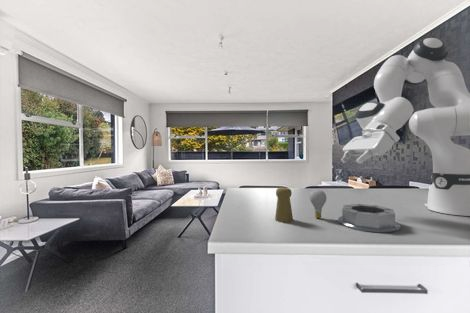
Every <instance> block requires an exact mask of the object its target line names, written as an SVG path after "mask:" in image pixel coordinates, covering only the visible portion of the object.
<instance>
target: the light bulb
mask: <svg viewBox="0 0 470 313" xmlns="http://www.w3.org/2000/svg"><path fill="white" fill-rule="evenodd" d="M309 200H310V202H311V204H312V206H313V209H314V217H315V218H316V219H320V218H322V208H323V207H324V205H325V204H326V202H327V195H326V193H325V192H324V191H323V190H321V189H313V190H312V191H311V192H310V194H309Z"/></svg>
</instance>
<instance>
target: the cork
mask: <svg viewBox="0 0 470 313" xmlns="http://www.w3.org/2000/svg"><path fill="white" fill-rule="evenodd" d="M292 194H293V192H292V190H291V189H290V188H289V187H278V188H277V189H276V191H275V195H276V197H277V200H276V209H275V216H274V217H275V218H274V220H276V221H275V222H277V221H278V222H279V223H282V222H283V224H286V223H292V222H293V221H294V218H293V212H292V210H293V209H292V202H291V196H292Z"/></svg>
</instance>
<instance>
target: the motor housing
mask: <svg viewBox="0 0 470 313" xmlns="http://www.w3.org/2000/svg"><path fill="white" fill-rule="evenodd" d="M341 213H342V214H341V215H340V216H339V217H338V219H337V220H338V223H339V224H340V225H342V226H344V227H346V228H348V229H352V230H356V231H360V232H361V231H362V232H368V233H375V234H376V233H378V234H380V233H381V234H385V233H386V234H389V233H395V232H399V231H400V230H401V225H400V223H398V222H396V213H395V211H394V209H393V208H390V207H389V208H388V207H384V206H382V205H376V204H375V205H374V204H362V203H354V204H353V203H351V204H344V205H343V207H342V212H341Z"/></svg>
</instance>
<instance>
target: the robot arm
mask: <svg viewBox="0 0 470 313" xmlns="http://www.w3.org/2000/svg"><path fill="white" fill-rule="evenodd" d="M448 55H449V52H448V51H447V47H446V45H445V42H444V41H443V40H442V39H441V38H438V37H434V36H429V37H425V38H422V39H420V40H419V41H418V42H417V43H416V44H415V45H414V46H413V49H412V50H411V52H410V53H409V55H408V56H407V57H406V56H404V55H402V54H395V55H393V56H390V57H389V58H388V59H386V60H385V61H384V62H383V64H382V65H381V67H380V68H379V69H378V71H377V73H376V75H375V77H374V79H373V80H374V81H373V88H374V90H375V94H376V95H377V98H378V100H379V102H377V101H367V102H365V103H363V104H361V105H360V106H359V108H358V109H356V112H355V114H354V116H355V119H356V121H357V123H358V124H359V126H360V128H361V129H362V131H361V133H362V135H360V136H355V137H353V138H352V139H351V140H349V141H348V142H347V143H346V144H345V145H344V146H343V147H342V151H343V153H344V154H343V157H342V158H341V159H340V161H341V162H342V163H346V164H347V163H348V161H349V158H351V157H352V156H358V157H357V158H356V159H355V162H356V163H357V164H363V163H364V162H365V161H366V160H369V159H370V158H372V156H376V157H377V156H380V157H381V156H383V155H384V154H386V152H388V151H389V150H390V149H391V148H392V147H393V145H394V144H396V143H397V142H399V141H400V139H401V138H400V136H399V135H398V134H397V130H399V129H401V128H402V127H403V126H404V125H405V124H406V123H407V122H408V128H409V130H410V132H411V133H412V134H413V135H414V136H416V137H418V138H419V139H421V140H422V141H424V142H425V143H426V145H427V146H428V148H429V150H430V153H431V157H432V158H431V159H432V172H431V177H430V179H431V182H432V184H431V185H430V186H429V187H428V193H427V195H428V196H427V202H425V203H424V206H425V207H427V210H430V211H433V212H436V213H441V214H445V215H447V214H448V215H454V216H465V217H470V148H468V147H465V146H463V145H460V144H457V143H454V142H453V140H452V138H451V137H457V136H459V137H460V136H470V92H469V89H468V88H467V86H466V83H465V79H464V76H463V73H462V71H461V69H460V68H459V66H458V65H457V64H456V63H455V62H452V61H447V60H445V59H447V58H448ZM425 81H426V82H427V90H428V91H427V92H428V99H429V100H428V101H429V103H430V104H431V105H432V106H433V107H430V108H425V109H422V110H417V111H415V109H414V106H413V104H412V103H411V101H410V100H408V99H407V98H405V97H404V96H403V97H402V93H403V88H404V87H405V88H408V89H409V88H410V89H411V88H417V87H418V86H420V85H421V84H422V83H424V82H425ZM414 111H415V112H414ZM413 112H414V113H413Z"/></svg>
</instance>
